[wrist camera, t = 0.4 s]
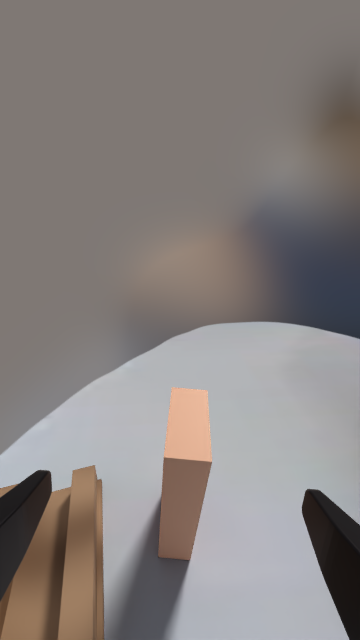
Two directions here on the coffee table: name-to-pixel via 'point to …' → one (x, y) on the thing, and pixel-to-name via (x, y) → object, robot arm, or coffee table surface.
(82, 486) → the rack
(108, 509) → the coffee table surface
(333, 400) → the coffee table surface
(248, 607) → the coffee table surface
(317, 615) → the coffee table surface
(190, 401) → the peach rectangular block
